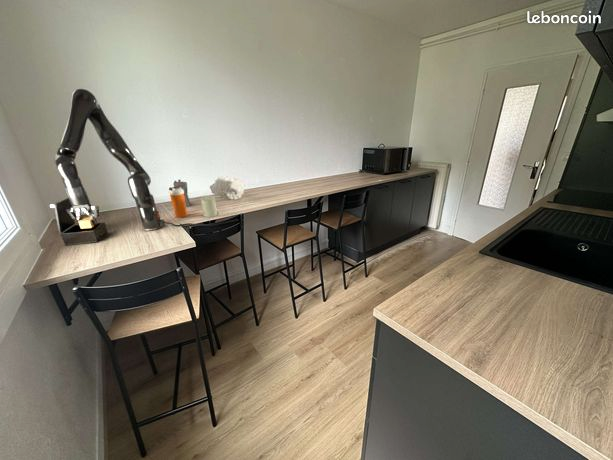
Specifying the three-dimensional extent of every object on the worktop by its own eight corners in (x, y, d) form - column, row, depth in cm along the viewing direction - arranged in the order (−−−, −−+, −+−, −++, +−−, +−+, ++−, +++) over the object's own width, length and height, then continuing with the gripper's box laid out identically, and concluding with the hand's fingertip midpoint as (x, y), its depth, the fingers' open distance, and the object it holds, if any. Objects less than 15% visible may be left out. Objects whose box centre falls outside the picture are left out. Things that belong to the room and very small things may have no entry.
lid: (71, 197, 134) (60, 196, 132) (55, 204, 122) (43, 203, 121) (75, 224, 139) (64, 223, 138) (60, 233, 128) (49, 232, 126)
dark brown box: (108, 233, 145) (104, 222, 142) (97, 242, 134) (93, 231, 131) (79, 235, 142) (74, 224, 139) (65, 245, 131) (60, 234, 128)
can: (200, 214, 172) (197, 197, 167) (213, 211, 178) (210, 195, 173) (207, 218, 166) (204, 200, 161) (220, 214, 172) (217, 197, 167)
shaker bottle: (191, 214, 172) (185, 186, 164) (180, 218, 165) (174, 189, 157) (182, 212, 176) (176, 184, 168) (171, 217, 168) (164, 187, 160)
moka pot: (184, 208, 183) (178, 181, 175) (172, 205, 191) (165, 179, 183) (195, 205, 191) (190, 179, 183) (183, 202, 198) (177, 177, 190)
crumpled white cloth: (223, 199, 218) (244, 202, 206) (206, 195, 203) (228, 198, 191) (227, 178, 218) (248, 180, 206) (210, 173, 203) (232, 174, 191)
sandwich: (97, 223, 139) (95, 216, 137) (91, 227, 133) (89, 220, 132) (87, 224, 138) (84, 217, 136) (81, 228, 132) (78, 221, 131)
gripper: (56, 198, 124) (69, 229, 131) (89, 195, 127) (101, 226, 134) (65, 194, 130) (77, 224, 137) (97, 192, 133) (107, 221, 140)
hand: (89, 225), depth 135 cm, fingers closed on sandwich, 5 cm apart
